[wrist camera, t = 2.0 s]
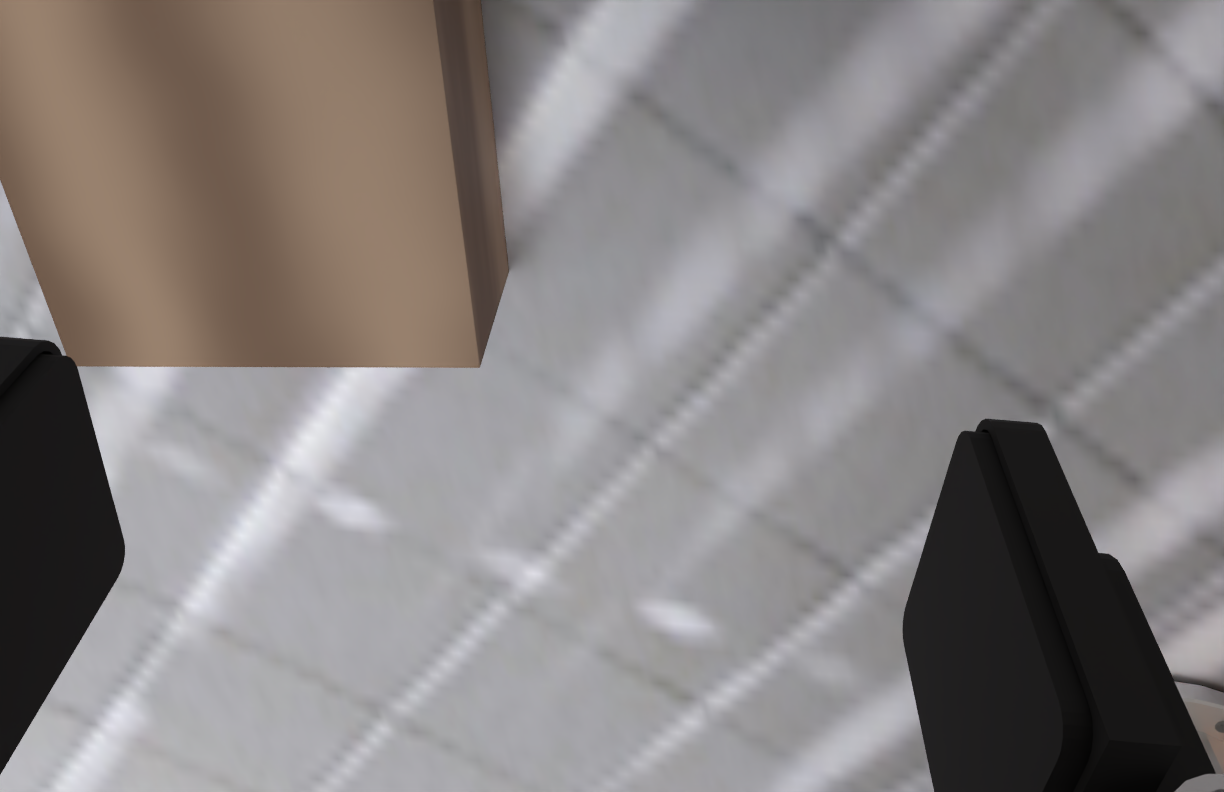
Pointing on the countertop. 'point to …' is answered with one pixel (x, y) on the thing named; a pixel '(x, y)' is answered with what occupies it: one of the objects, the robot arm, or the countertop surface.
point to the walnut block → (256, 179)
